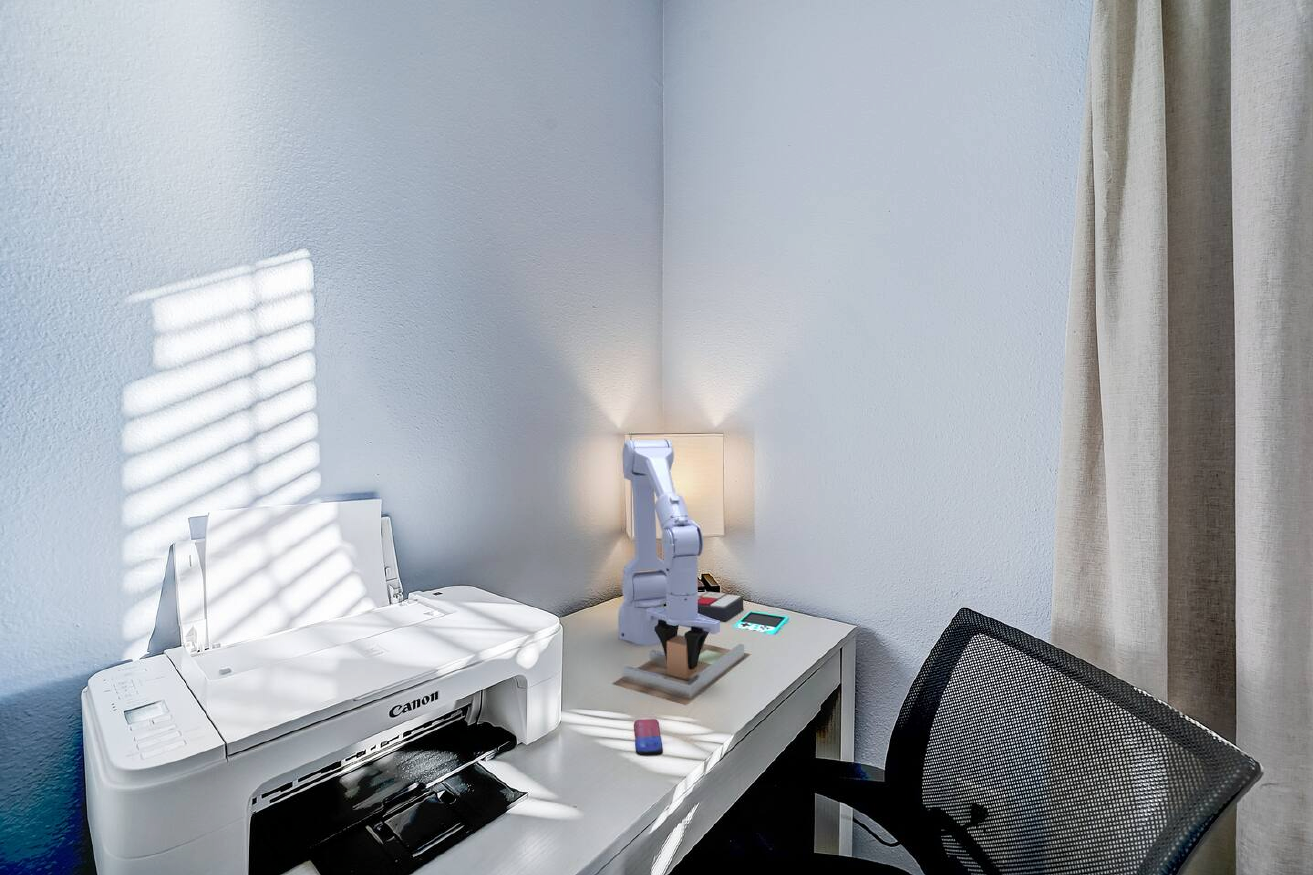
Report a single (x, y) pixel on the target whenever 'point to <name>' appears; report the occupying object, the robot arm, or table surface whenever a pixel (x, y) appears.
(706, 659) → the track board
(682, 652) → the block
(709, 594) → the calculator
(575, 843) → the table surface
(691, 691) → the outer rail
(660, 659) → the inner rail
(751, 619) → the handheld game console
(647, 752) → the eraser
